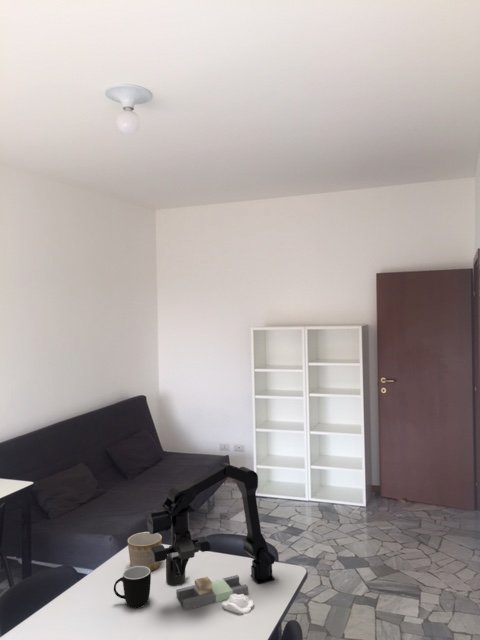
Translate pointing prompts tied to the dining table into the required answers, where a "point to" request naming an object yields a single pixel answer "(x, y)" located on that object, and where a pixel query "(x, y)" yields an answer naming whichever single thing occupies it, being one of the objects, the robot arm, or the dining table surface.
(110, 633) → the dining table surface
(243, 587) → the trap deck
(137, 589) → the mug
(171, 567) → the supplement bottle
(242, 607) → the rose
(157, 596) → the dining table surface
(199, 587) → the birch block
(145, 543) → the planter
